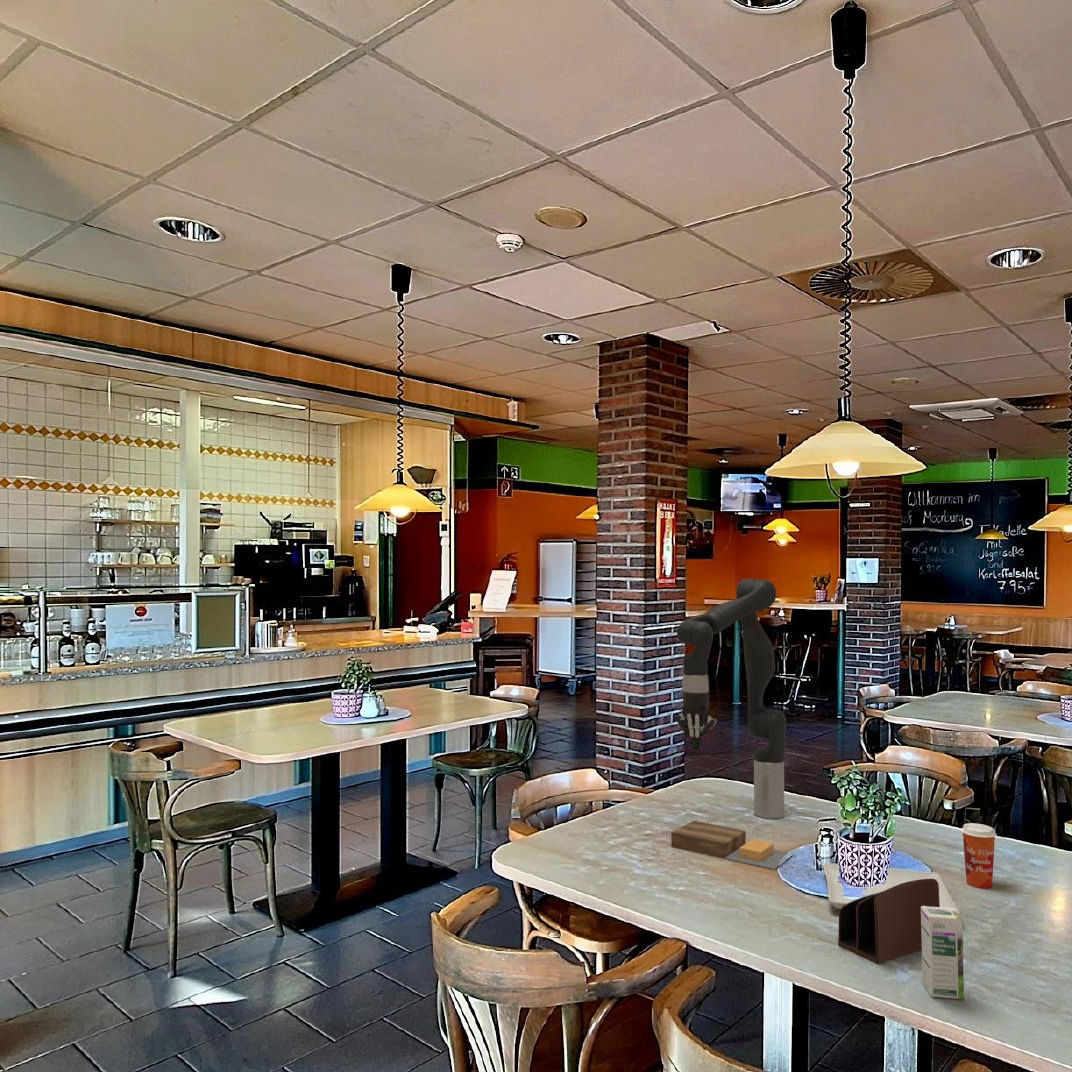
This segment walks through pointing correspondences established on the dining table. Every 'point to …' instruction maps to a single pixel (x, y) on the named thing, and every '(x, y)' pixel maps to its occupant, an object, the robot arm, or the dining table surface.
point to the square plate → (883, 885)
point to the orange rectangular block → (756, 850)
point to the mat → (767, 863)
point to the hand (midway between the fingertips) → (696, 749)
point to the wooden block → (708, 839)
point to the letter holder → (887, 921)
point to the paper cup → (979, 854)
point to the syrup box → (942, 952)
